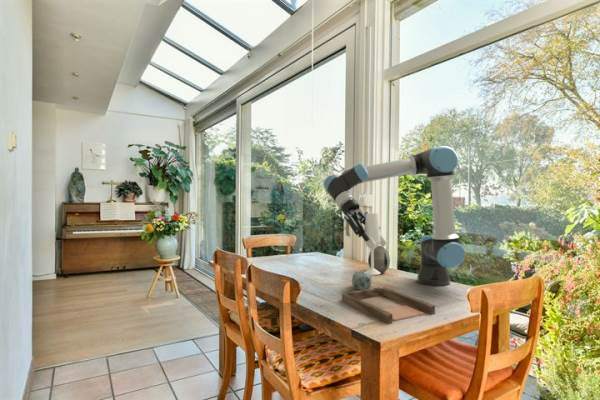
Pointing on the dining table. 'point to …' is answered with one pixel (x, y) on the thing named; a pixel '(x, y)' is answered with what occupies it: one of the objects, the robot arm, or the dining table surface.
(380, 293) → the bay
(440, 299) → the dining table surface
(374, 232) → the champagne flute
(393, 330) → the dining table surface
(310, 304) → the dining table surface
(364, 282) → the mottled grey rounded block
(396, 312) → the front tile
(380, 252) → the decorative egg
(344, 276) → the dining table surface
